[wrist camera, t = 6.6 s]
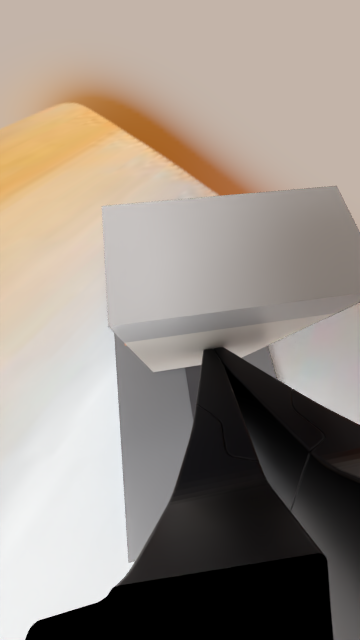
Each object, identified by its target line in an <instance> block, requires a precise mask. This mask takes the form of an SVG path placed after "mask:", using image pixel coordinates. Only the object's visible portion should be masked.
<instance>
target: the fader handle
mask: <svg viewBox="0 0 360 640" xmlns="http://www.w3.org/2000/svg"><path fill="white" fill-rule="evenodd" d="M102 218H103V237H104V256H105V275H106V293H107V312H108V327H109V328H110V329H111V330H112V331H113V332H114V333H115V334H116V335H117V336H118V337H119V338H120V339H121V340H122V341H123V342H124V343H125V344H126V345H127V346H128V347H129V348H130V349H131V350H132V351H133V352H134V353H135V354H136V355H137V356H138V357H139V358H140V359H141V360H142V361H143V362H144V363H145V364H146V365H147V366H148V367H149V368H150V369H151V371H152V372H158V371H165V370H171V369H178V368H184V367H191V366H198V365H201V364H202V356H203V350H205V349H211V348H212V349H214V348H218V347H224V348H226V349H227V350H229V351H231V352H232V353H234V354H236V355H237V356H239V357H241V358H242V357H244V356H246V355H248V354H251V353H253V352H255V351H257V350H259V349H261V348H263V347H266V346H268V345H270V344H272V343H274V342H276V341H278V340H281V339H283V338H285V337H287V336H289V335H291V334H293V333H296V332H298V331H300V330H302V329H304V328H306V327H308V326H311V325H313V324H315V323H317V322H319V321H321V320H323V319H326V318H328V317H330V316H332V315H334V314H336V313H338V312H341V311H343V310H345V309H347V308H349V307H351V306H353V305H356V304H358V303H360V232H359V230H358V228H357V226H356V224H355V222H354V220H353V218H352V216H351V214H350V212H349V210H348V208H347V206H346V204H345V202H344V200H343V198H342V195H341V193H340V192H339V189H338V188H337V186H329V187H317V188H306V189H294V190H283V191H271V192H259V193H248V194H236V195H226V196H225V195H224V196H213V197H201V198H190V199H178V200H166V201H155V202H143V203H131V204H120V205H108V206H102Z"/></svg>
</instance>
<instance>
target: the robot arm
mask: <svg viewBox="0 0 360 640" xmlns="http://www.w3.org/2000/svg"><path fill="white" fill-rule="evenodd" d="M25 640H360V425H359V424H357V423H355V422H353V421H351V420H349V419H347V418H345V417H343V416H341V415H339V414H337V413H335V412H333V411H331V410H329V409H327V408H326V407H324V406H322V405H320V404H318V403H316V402H315V401H313V400H311V399H309V398H308V397H306V396H304V395H302V394H301V393H299V392H297V391H296V390H294V389H292V388H291V387H289V386H287V385H286V384H284V383H282V382H281V381H279V380H277V379H276V378H274V377H272V376H271V375H269V374H267V373H266V372H264V371H262V370H261V369H259V368H257V367H256V366H254V365H252V364H251V363H249V362H247V361H246V360H244V359H242V358H241V357H239V356H237V355H236V354H234V353H232V352H231V351H229V350H227V349H226V348H224V347H218V348H214V349H212V348H211V349H205V350H203V356H202V364H201V371H200V378H199V386H198V393H197V401H196V407H195V415H194V420H193V426H192V430H191V434H190V438H189V442H188V445H187V448H186V452H185V455H184V458H183V461H182V465H181V468H180V471H179V475H178V478H177V481H176V484H175V487H174V490H173V492H172V495H171V497H170V500H169V502H168V504H167V506H166V508H165V510H164V511H163V513H162V515H161V517H160V518H159V520H158V522H157V524H156V525H155V527H154V529H153V531H152V532H151V534H150V536H149V538H148V539H147V541H146V543H145V545H144V547H143V548H142V550H141V552H140V554H139V555H138V557H137V559H136V561H135V562H134V564H133V566H132V567H131V569H130V570H129V572H128V573H127V575H126V576H125V577H124V578H123V579H122V580H121V581H120V582H119V583H118V584H117V585H116V586H115V587H114V588H112V590H111V591H110V593H109V594H108V596H107V597H106V598H104V599H103V600H101V601H100V602H98V603H95V604H91V605H88V606H85V607H82V608H78V609H75V610H72V611H68V612H65V613H62V614H59V615H55V616H52V617H49V618H45V619H42V620H39V621H37V622H36V623H35V624H34V625H33V626H32V627H31V628H30V629H29V631H28V634H27V636H26V639H25Z"/></svg>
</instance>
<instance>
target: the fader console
mask: <svg viewBox="0 0 360 640" xmlns="http://www.w3.org/2000/svg"><path fill="white" fill-rule="evenodd" d="M114 335H115V351H116V368H117V384H118V400H119V416H120V432H121V449H122V465H123V481H124V497H125V513H126V530H127V546H128V562H133V561H136V559H137V557H138V555H139V554H140V552H141V550H142V548H143V547H144V545H145V543H146V541H147V539H148V538H149V536H150V534H151V532H152V531H153V529H154V527H155V525H156V524H157V522H158V520H159V518H160V517H161V515H162V513H163V511H164V510H165V508H166V506H167V504H168V502H169V500H170V497H171V495H172V492H173V490H174V487H175V484H176V481H177V478H178V475H179V471H180V468H181V465H182V461H183V458H184V455H185V452H186V448H187V445H188V442H189V438H190V434H191V430H192V426H193V420H194V415H195V407H196V401H197V393H198V386H199V378H200V371H201V365H198V366H191V367H184V368H178V369H171V370H165V371H158V372H152V371H151V369H150V368H149V367H148V366H147V365H146V364H145V363H144V362H143V361H142V360H141V359H140V358H139V357H138V356H137V355H136V354H135V353H134V352H133V351H132V350H131V349H130V348H129V347H128V346H127V345H126V344H125V343H124V342H123V341H122V340H121V339H120V338H119V337H118V336H117V335H116V334H115V333H114ZM242 359H244V360H246V361H247V362H249V363H251V364H252V365H254V366H256V367H257V368H259V369H261V370H262V371H264V372H266V373H267V374H269V375H271V376H272V377H274V378H276V379H277V377H276V374H275V370H274V367H273V363H272V360H271V356H270V353H269V349H268V346H266V347H263V348H261V349H259V350H257V351H255V352H253V353H251V354H248V355H246V356H244V357H242Z"/></svg>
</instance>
